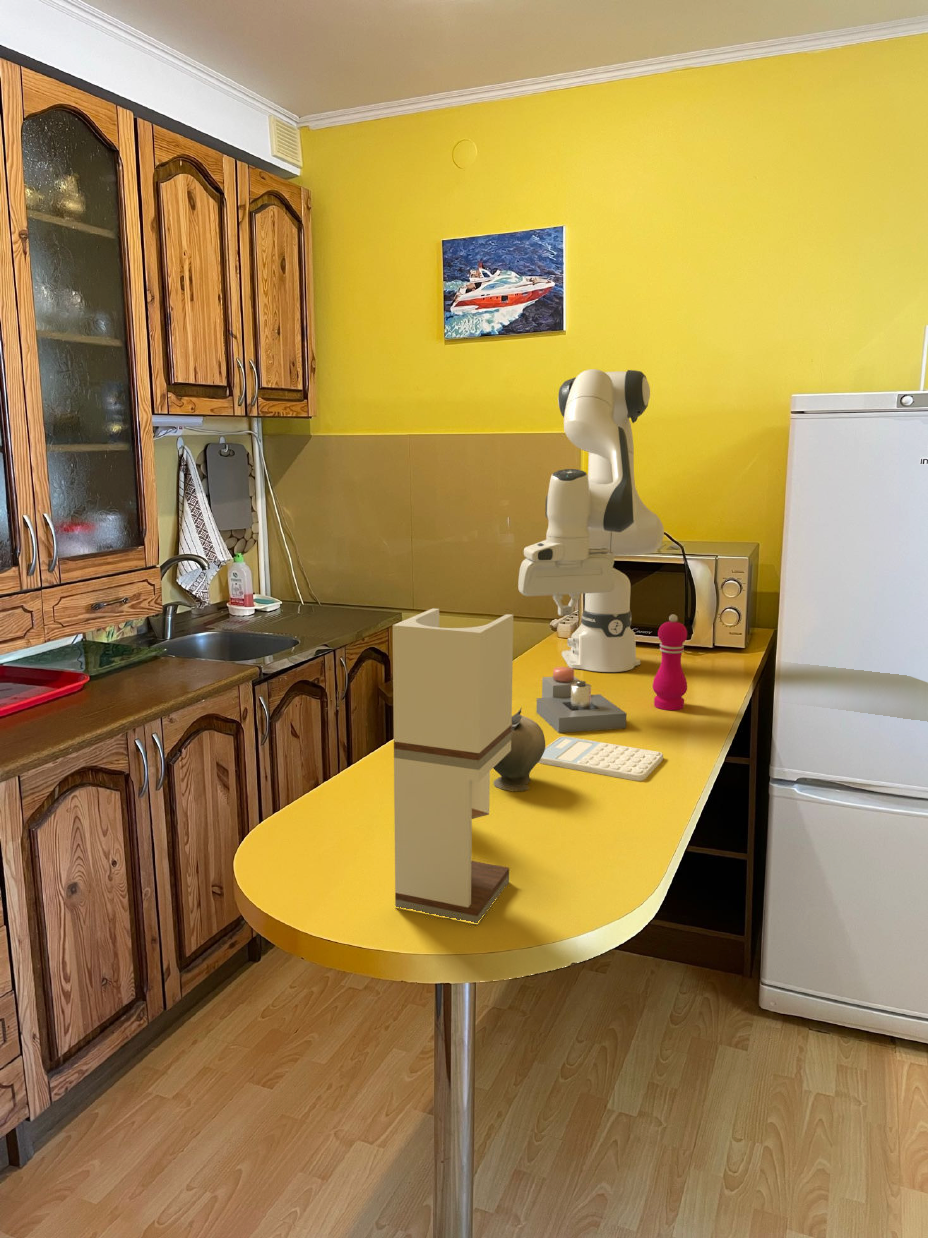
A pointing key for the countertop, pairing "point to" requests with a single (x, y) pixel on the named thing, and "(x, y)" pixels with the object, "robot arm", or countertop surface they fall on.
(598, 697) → the grey stepped block frame
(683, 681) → the pepper mill
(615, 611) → the robot arm
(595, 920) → the countertop surface
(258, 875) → the countertop surface
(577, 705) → the cell
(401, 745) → the beige stacked box tower
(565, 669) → the plunger
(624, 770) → the calculator
